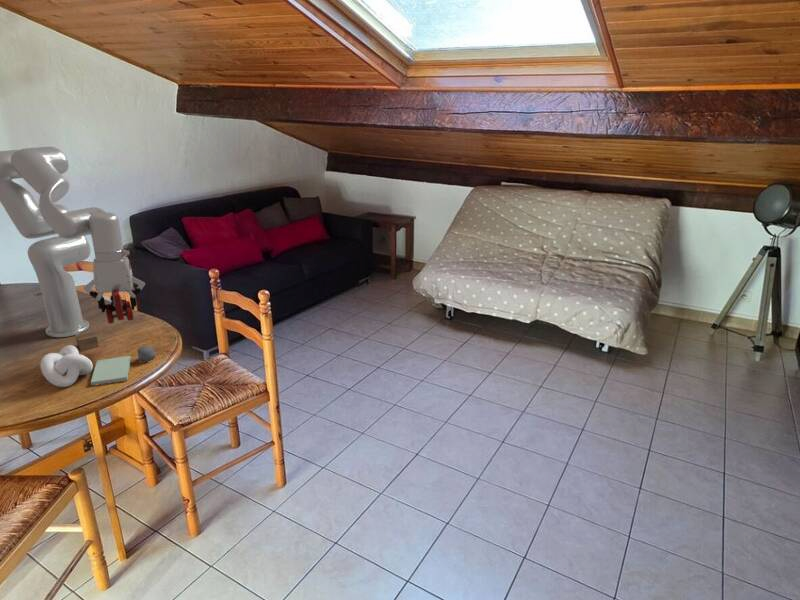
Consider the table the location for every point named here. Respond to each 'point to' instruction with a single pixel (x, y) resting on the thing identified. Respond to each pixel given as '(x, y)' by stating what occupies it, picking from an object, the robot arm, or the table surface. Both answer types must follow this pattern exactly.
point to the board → (111, 370)
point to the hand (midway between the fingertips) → (118, 309)
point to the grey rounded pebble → (146, 354)
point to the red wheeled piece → (118, 308)
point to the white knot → (65, 366)
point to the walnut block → (86, 340)
